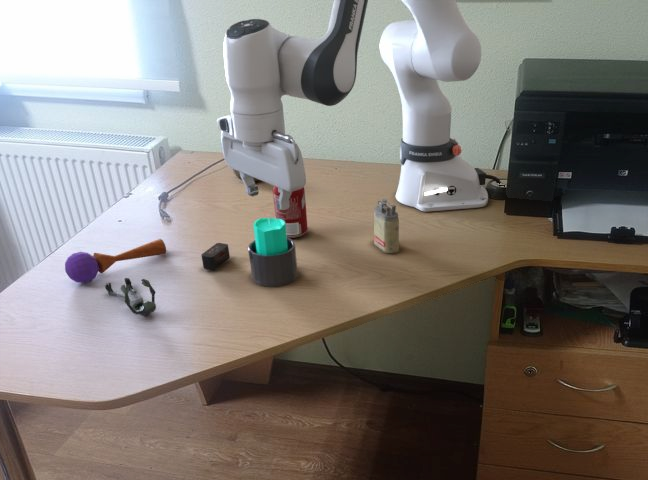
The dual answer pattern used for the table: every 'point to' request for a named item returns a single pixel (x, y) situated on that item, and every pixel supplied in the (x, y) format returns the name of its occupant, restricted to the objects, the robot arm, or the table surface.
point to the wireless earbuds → (215, 256)
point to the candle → (270, 236)
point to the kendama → (106, 260)
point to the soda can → (293, 213)
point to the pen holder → (273, 266)
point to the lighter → (386, 227)
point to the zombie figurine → (135, 305)
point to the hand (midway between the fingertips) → (267, 201)
